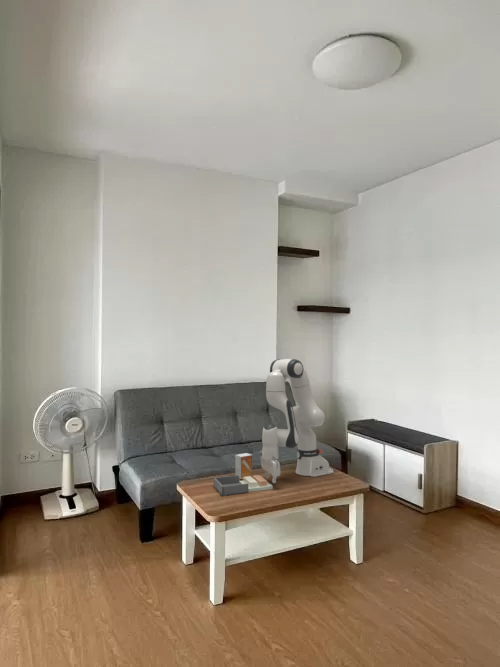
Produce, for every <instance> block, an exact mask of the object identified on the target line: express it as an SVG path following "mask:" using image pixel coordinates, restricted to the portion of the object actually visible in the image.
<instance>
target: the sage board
mask: <svg viewBox="0 0 500 667" xmlns="http://www.w3.org/2000/svg"><path fill="white" fill-rule="evenodd" d="M239 483H240V484H246V483H245V482H243V480H239ZM257 485H258V484H257ZM273 488H274V485H272V483H270V482H269V481H267V486H261V487H260V486H259V485H258V487H252V488H250V487H249V486H248V493H251V492H258V491H260V492H261V491H266V490H267V491H268V490H273Z"/></svg>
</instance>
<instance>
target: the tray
mask: <svg viewBox="0 0 500 667" xmlns="http://www.w3.org/2000/svg"><path fill="white" fill-rule="evenodd" d="M239 481H240V479H239V475H235V474H234V475H226V476H218V477H213V487H214V486H215V487H214V488H215V490H217V491H219V492H218V493H219V494H220V495H221V496H222V497H223V496H224V497H225V496H227V497H228V496H234V495H242V494H248V493H249V492H248V483H247V484H240V483H239Z"/></svg>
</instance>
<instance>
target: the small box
mask: <svg viewBox="0 0 500 667" xmlns="http://www.w3.org/2000/svg"><path fill="white" fill-rule="evenodd" d="M234 456H235V457H234V459H235V462H234V463H235V464H234V467H235V473H234V475H239V478H243V477H247V476H251V477H252V478H253V454H251V453H248V452H245V453H238V454H235V455H234Z"/></svg>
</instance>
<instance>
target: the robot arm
mask: <svg viewBox="0 0 500 667" xmlns="http://www.w3.org/2000/svg"><path fill="white" fill-rule="evenodd" d="M287 379H289V380H290V387H291V388H290V389H291V392H292V397H293V400H294V402H296V403H297V405H295V406H293V403H292V401H290V400H289V399H288V397H287V394H286V380H287ZM309 379H310V378H309V376H308V373H307V370H306V368H305V367H304V365H303V363H302V361H301V360H298V359H295V358H293V359H292V358H282V359H280V358H279V359H275V360H273V361H272V362H271V364H270V367H269V373H268V374H267V377H266V385H265V387H266V388H265V396H266V398H265V399H266V401H267V403H268V404H269V405H270V406H271V407H273V408H275V409H277V410H280V411H281V412H282V413H284V415H285V421H286V426H287V428H278V427H277V425H276V424H274V423H273V424H272V423H271V424H266V425H264V426H263V428H262V433H261V434H262V435H261V442H262V447H261V448H262V450H261V451H259V455H260V466H261V468H262V469H263V470H264V474H265V478H266V480H267V479H270V475H271V477H272V479H271V484H272V483H273V484H276V483H277V478H278V477H280V476H281V465H280V462H279V461H278V459H279V447H283V448H288V449H289V448H290V449H293V448H296V446H297V448H296V459H297V462H296V463H297V464H296V468H295V474H297V475H300V476H304V477H305V476H307V477H308V476H309V477H319V476H325V475H330V474H334V469H333V468H331V467H330V464H329V461H328V460H327V459H325V458H324V457H323V456H322V455H320V454H323V450H322V449H319V448H317V435H316V433H315V432H314V430H312V428H314V427H315V428H317V427H321V426H322V425H323V424H324V422H325V420H326V419H325V418H326V415H325V413H324V411H323V410H322V409H320V407H319V406H318V405H317V403H316V401H315V399H314V396H313V393H312V389H311V383H310V380H309Z"/></svg>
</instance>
